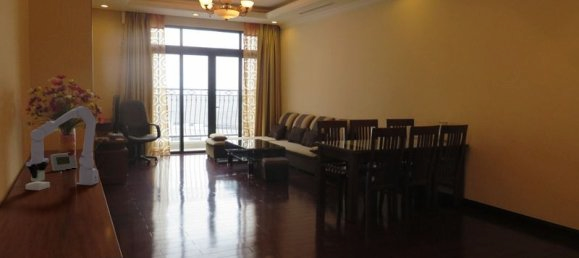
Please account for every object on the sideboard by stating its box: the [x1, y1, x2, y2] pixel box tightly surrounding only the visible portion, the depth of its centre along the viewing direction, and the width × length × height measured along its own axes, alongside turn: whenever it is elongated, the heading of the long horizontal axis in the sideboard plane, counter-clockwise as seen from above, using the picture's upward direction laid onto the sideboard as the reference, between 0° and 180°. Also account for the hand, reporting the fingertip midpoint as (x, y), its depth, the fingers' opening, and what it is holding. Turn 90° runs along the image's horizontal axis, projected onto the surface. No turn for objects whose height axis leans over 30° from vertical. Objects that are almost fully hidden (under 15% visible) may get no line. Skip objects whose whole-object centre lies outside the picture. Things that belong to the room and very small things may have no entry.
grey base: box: [25, 181, 51, 191], centre depth 228 cm, size 8×8×3 cm
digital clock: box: [49, 152, 78, 172], centre depth 276 cm, size 16×9×11 cm, turn 133°
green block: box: [30, 170, 46, 182], centre depth 227 cm, size 4×4×5 cm
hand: (37, 177), depth 227 cm, fingers closed on green block, 4 cm apart
